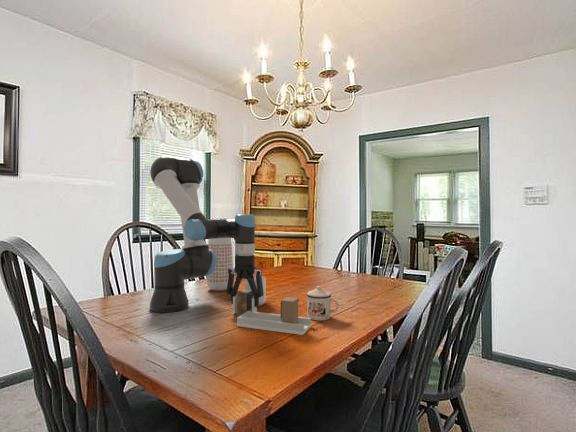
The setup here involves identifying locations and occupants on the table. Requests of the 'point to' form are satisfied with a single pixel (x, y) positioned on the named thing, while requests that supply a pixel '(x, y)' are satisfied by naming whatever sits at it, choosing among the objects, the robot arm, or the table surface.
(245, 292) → the block
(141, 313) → the table surface
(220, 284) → the white patterned vase
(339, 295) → the table surface
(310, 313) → the teacup with lid
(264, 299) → the mug
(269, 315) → the rail
